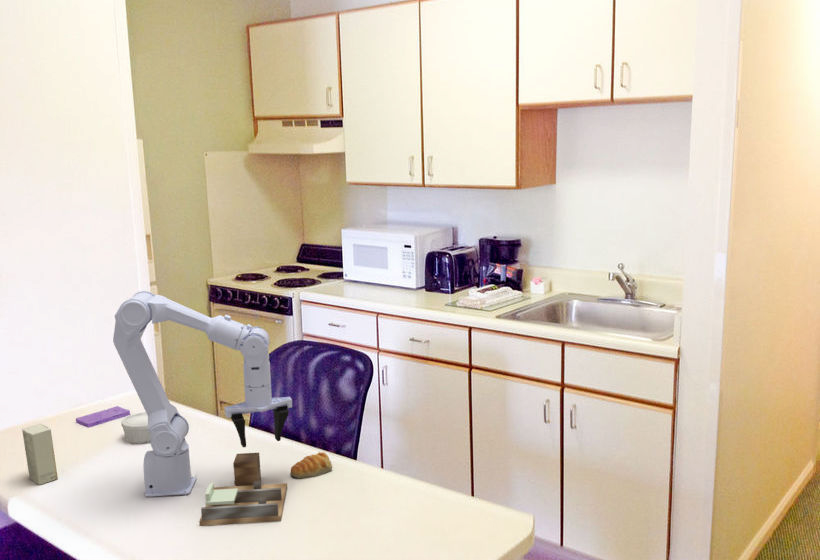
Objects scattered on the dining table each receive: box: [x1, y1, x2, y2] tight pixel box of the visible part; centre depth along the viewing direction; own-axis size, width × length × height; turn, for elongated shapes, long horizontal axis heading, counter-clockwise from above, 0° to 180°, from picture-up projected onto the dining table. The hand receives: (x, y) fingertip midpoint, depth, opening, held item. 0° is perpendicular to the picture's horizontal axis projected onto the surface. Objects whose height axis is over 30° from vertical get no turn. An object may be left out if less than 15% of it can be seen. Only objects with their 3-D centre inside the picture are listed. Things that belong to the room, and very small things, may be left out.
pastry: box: [289, 451, 333, 479], centre depth 172 cm, size 9×7×4 cm
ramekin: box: [120, 411, 151, 445], centre depth 196 cm, size 11×11×5 cm
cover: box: [204, 482, 238, 506], centre depth 152 cm, size 6×6×2 cm
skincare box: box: [21, 423, 59, 486], centre depth 171 cm, size 6×4×12 cm
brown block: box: [233, 452, 262, 486], centre depth 167 cm, size 5×5×6 cm
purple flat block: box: [75, 405, 131, 428], centre depth 211 cm, size 7×13×2 cm, turn 140°
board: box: [198, 480, 288, 527], centre depth 156 cm, size 16×15×3 cm
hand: (260, 442), depth 166 cm, fingers open, 7 cm apart
